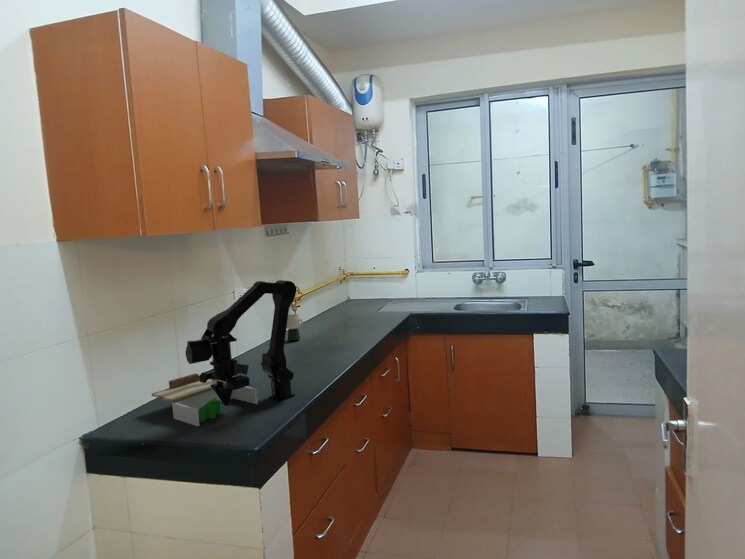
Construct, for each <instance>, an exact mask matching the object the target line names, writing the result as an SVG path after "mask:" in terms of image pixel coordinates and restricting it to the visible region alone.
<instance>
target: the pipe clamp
mask: <svg viewBox="0 0 745 559" xmlns="http://www.w3.org/2000/svg"><path fill="white" fill-rule="evenodd" d="M221 404H222V403H220V400H217V398H212V399H211V400H210V401H208V402H207V403H206V404H205V405H203V406H202V407H201V408H199V411H198V414H199V423H203V422H205V421H206V420H208V419H216V418H217V416H216V415H218V414H219V415H220V414H221V413H222V405H221Z"/></svg>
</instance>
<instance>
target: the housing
mask: <svg viewBox="0 0 745 559" xmlns="http://www.w3.org/2000/svg"><path fill="white" fill-rule="evenodd" d="M257 391H258V390H257V388H255V387H251V386H245V387H243V388H240V389H237V390H233V391H232V394H231V398H230V400H233V399H234V400H239V401H242V402H245V403H249V404H254V405H258V404H259V401H258V400H259V398H258V392H257ZM212 398H217V400H220V398H219V397H218V395H217V394H216V392H215V391H214V389H213V390H210V391H207V392H204V393H201V394H197V395H194V396H191V397H188V398H185V399H182V400H179V401H176V402H171V405H172V407H171V408H172V415H173V419H174V420H177V421H180V422H183V423H186V424H189V425H193V426H196V427H199V426H200V415H199V408H201V407H202V406H203V405H205V404H206V403H207V402H208V401H210V400H211V399H212ZM220 404H223V403H222V401H221V400H220Z"/></svg>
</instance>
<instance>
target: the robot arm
mask: <svg viewBox="0 0 745 559" xmlns="http://www.w3.org/2000/svg"><path fill="white" fill-rule="evenodd" d="M265 294H269V295H271V296H272V301H273V304H274V311H273V318H272V319H273V320H272V325H271V334H270V335H271V336H270V340H269V341H270V343H269V348H268V349H267V352H264V353H263V352H262V354H261V358H262V359H261V363H260V366H261V369H262V371H263V373H264V374H266V375H267V377H268V378H269V379H270V387H271V389H270V390H271V395H268V398H269V399H273V400H277V401H284V400H287V399H289V398H292V397H294V396H296V393H294V392H292V382H291V381H292V380H293V379H294V377H295V376H294V375H295V373H294V372H293V371H291V370H290V369H288V367H287V357H286V354H285V344H286V343H285V342H286V336H287V335H286V334H287V321H288V315H289V310H290V307H291V305H292V304H293V302H294V300H295V298H296V297H295V296H296V294H297V285H296V284H295V282H293V281H291V280H283V279H278V280H276V281H275V282H270V281H268V282H267V281H261V280H257V281H255V282H254V284H252V286H251V287H250V288H248V290H247V291H246V292H244V294H242V295H241V296H240V297H239V298H238V299H237V300H236V301H235V302H234V303H233V304H232V305H231V306H230V307H228V308H227V309H225V310H222V311H221V312H219V313H217V314H216V315H214V316H212V317H210V318H209V320H208V321H207V323H206V329H205V331H204V333H203V335H202V336H201V338H200V339H197V340H188V341H187V342H186V344H187V345H186V347H185V357H186V358H185V359H186V361H187V363H188V364H189V365H192V364H197V363H201V362H206V361H209V360H210V359H212V361H209V365H210V366H212V367H213V369H210V370H207V371H203V372H201V373H200V374H199V379H200V382H202V383H206V382H207V380H208V379H211V380H212V385H210V386H211V387H212V388H213V389H214V391H215V392H216V394H217V395H218V397H219V398H220V400H221V401H222V403H221V404H222V405H223V406H225V407H228V406H229V404H230V401H231V399H230V398H231V394H232V391H233V390H237V389H240V388H243V387H245V386H247V387H249V386H250V385H251V381H250V377H248V376H247V375H248V371H249V367H250V366H249V364H244V363H238V360H237V359H235V358H232V349H231V348H232V347H231V343H233V342H237V341H238V339H237V338H236V337H234V336H233V335H232V334H231V333H232V331H233V330H234V328H235V327H236V324H237V323H238V321H239V319H240V318H241V317H242V316H243V315H244V314H245V313H247V311H248V310H249V309H250V308H252V306H253V305H255V304H256V303H257V302H258V301H260V299H261V298H262V297H263V296H264V295H265ZM238 374H239V375H238ZM226 379H227V380H226Z"/></svg>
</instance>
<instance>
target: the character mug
mask: <svg viewBox="0 0 745 559" xmlns="http://www.w3.org/2000/svg"><path fill="white" fill-rule="evenodd" d="M303 324H304V323H303V318H301V317H300V314H298V313H297V314H296V313H294V314H293V313H292V314H291V313H290V314H288V321H287V328H286V330H287V329H288V330H287V340H288V341H289V340H295V341H296V340H297V339H299V340H301V336H300V330H299V329H298V328H300V327H301V326H303ZM297 341H298V340H297Z"/></svg>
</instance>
